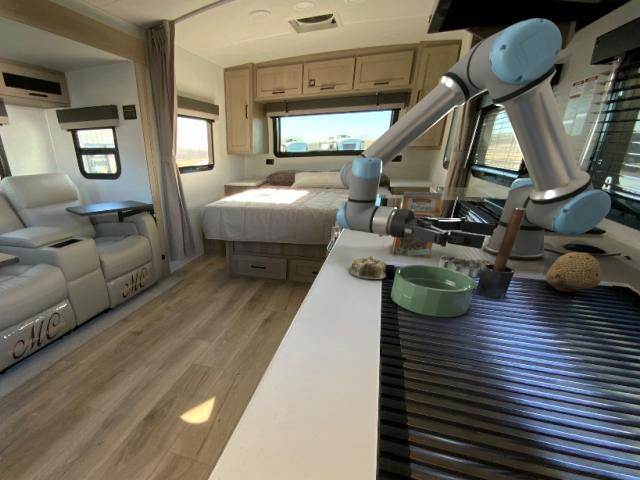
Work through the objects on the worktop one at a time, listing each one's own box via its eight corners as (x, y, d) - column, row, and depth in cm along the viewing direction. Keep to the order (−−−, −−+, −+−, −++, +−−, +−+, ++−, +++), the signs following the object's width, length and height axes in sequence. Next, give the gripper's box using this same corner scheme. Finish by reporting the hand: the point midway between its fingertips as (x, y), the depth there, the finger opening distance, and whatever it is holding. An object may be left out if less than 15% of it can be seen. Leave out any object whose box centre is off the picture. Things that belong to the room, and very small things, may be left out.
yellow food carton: (392, 254, 108) (405, 193, 100) (392, 245, 117) (403, 189, 108) (429, 257, 104) (444, 195, 96) (425, 248, 113) (440, 190, 105)
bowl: (449, 290, 82) (456, 266, 79) (480, 321, 68) (491, 293, 65) (383, 287, 84) (388, 263, 81) (401, 317, 70) (407, 289, 67)
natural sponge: (601, 297, 77) (622, 257, 73) (574, 303, 75) (594, 261, 71) (558, 283, 85) (574, 245, 81) (532, 287, 83) (548, 249, 79)
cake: (344, 269, 97) (346, 251, 95) (378, 270, 97) (381, 252, 95) (354, 279, 88) (357, 260, 86) (392, 280, 88) (396, 260, 86)
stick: (492, 291, 80) (522, 207, 71) (497, 295, 78) (529, 209, 69) (482, 291, 80) (511, 207, 71) (487, 295, 78) (517, 209, 69)
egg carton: (487, 275, 91) (492, 261, 89) (470, 280, 88) (474, 266, 86) (450, 263, 99) (453, 250, 97) (433, 267, 96) (437, 254, 94)
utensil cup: (495, 291, 81) (505, 264, 78) (509, 301, 76) (520, 273, 73) (470, 290, 82) (478, 263, 79) (482, 300, 77) (491, 272, 74)
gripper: (407, 227, 98) (493, 240, 85) (372, 246, 82) (472, 265, 69) (412, 201, 95) (502, 210, 82) (377, 215, 78) (483, 230, 65)
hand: (489, 236), depth 75 cm, fingers open, 13 cm apart
